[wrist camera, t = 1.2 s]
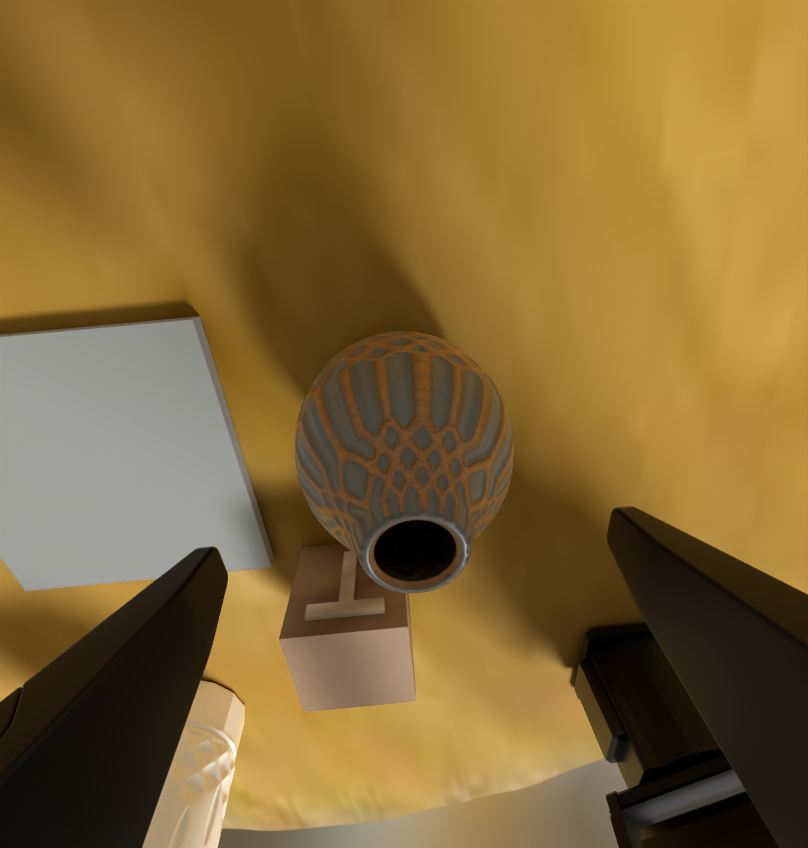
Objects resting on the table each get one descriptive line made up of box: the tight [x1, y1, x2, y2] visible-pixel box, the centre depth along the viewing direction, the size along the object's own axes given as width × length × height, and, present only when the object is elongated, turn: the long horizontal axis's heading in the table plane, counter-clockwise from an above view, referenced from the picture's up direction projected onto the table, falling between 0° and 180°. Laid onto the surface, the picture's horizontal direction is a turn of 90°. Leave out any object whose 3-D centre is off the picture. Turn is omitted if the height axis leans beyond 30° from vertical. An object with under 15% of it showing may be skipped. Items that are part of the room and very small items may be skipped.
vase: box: [295, 331, 514, 593], centre depth 12 cm, size 7×7×9 cm
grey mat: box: [0, 316, 274, 591], centre depth 17 cm, size 12×12×1 cm
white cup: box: [142, 680, 245, 848], centre depth 21 cm, size 8×8×10 cm
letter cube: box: [279, 543, 416, 712], centre depth 18 cm, size 5×5×5 cm
